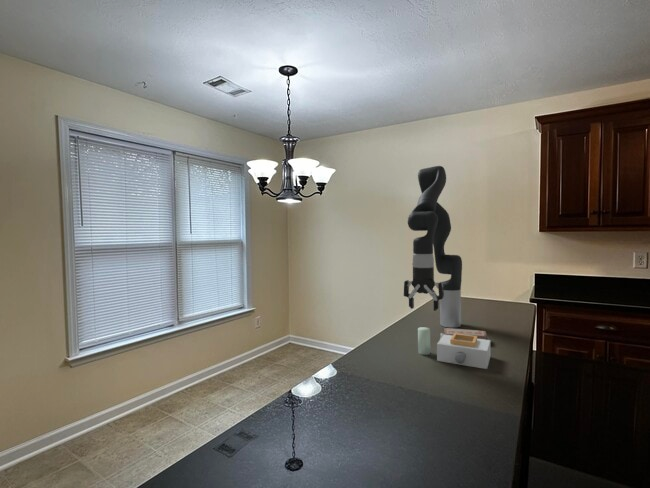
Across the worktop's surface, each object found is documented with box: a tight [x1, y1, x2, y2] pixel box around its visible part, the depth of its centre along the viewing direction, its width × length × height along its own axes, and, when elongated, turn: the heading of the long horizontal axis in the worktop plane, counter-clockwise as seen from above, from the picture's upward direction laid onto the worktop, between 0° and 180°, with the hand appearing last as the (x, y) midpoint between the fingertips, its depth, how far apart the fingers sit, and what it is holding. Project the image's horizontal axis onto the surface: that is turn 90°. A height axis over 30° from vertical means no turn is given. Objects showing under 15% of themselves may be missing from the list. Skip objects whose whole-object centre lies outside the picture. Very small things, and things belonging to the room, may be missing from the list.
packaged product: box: [439, 327, 489, 340], centre depth 144 cm, size 18×5×10 cm
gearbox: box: [436, 333, 491, 370], centre depth 124 cm, size 15×16×8 cm
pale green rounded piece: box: [417, 326, 431, 356], centre depth 132 cm, size 4×4×9 cm
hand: (423, 309), depth 131 cm, fingers open, 8 cm apart
